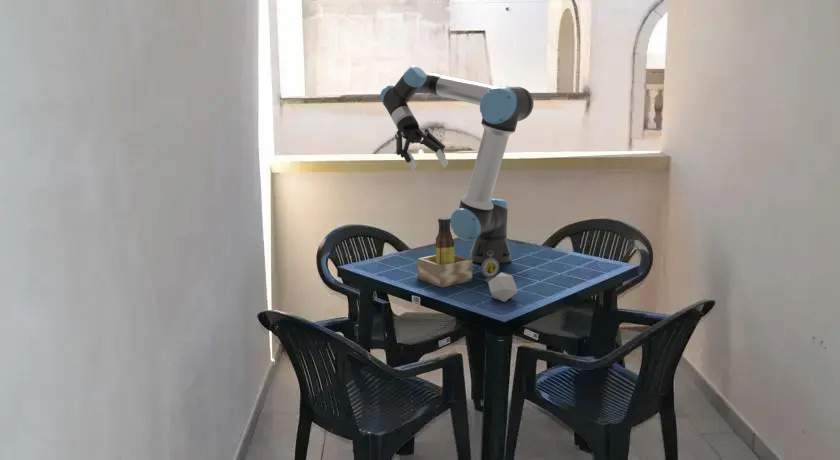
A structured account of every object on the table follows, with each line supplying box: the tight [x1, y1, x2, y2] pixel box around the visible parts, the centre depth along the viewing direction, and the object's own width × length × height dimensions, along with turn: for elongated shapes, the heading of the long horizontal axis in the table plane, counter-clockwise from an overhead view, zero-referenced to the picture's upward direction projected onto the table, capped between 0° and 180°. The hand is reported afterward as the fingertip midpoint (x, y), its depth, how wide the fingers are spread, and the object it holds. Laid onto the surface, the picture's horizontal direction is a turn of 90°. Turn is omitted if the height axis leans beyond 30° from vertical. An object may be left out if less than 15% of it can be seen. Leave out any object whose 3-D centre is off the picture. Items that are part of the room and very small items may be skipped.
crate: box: [417, 254, 473, 288], centre depth 226 cm, size 13×13×7 cm
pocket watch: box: [480, 251, 500, 284], centre depth 223 cm, size 8×8×10 cm
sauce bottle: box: [435, 216, 456, 265], centre depth 224 cm, size 7×6×20 cm
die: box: [487, 272, 519, 303], centre depth 205 cm, size 8×9×10 cm
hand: (430, 167), depth 237 cm, fingers open, 13 cm apart
